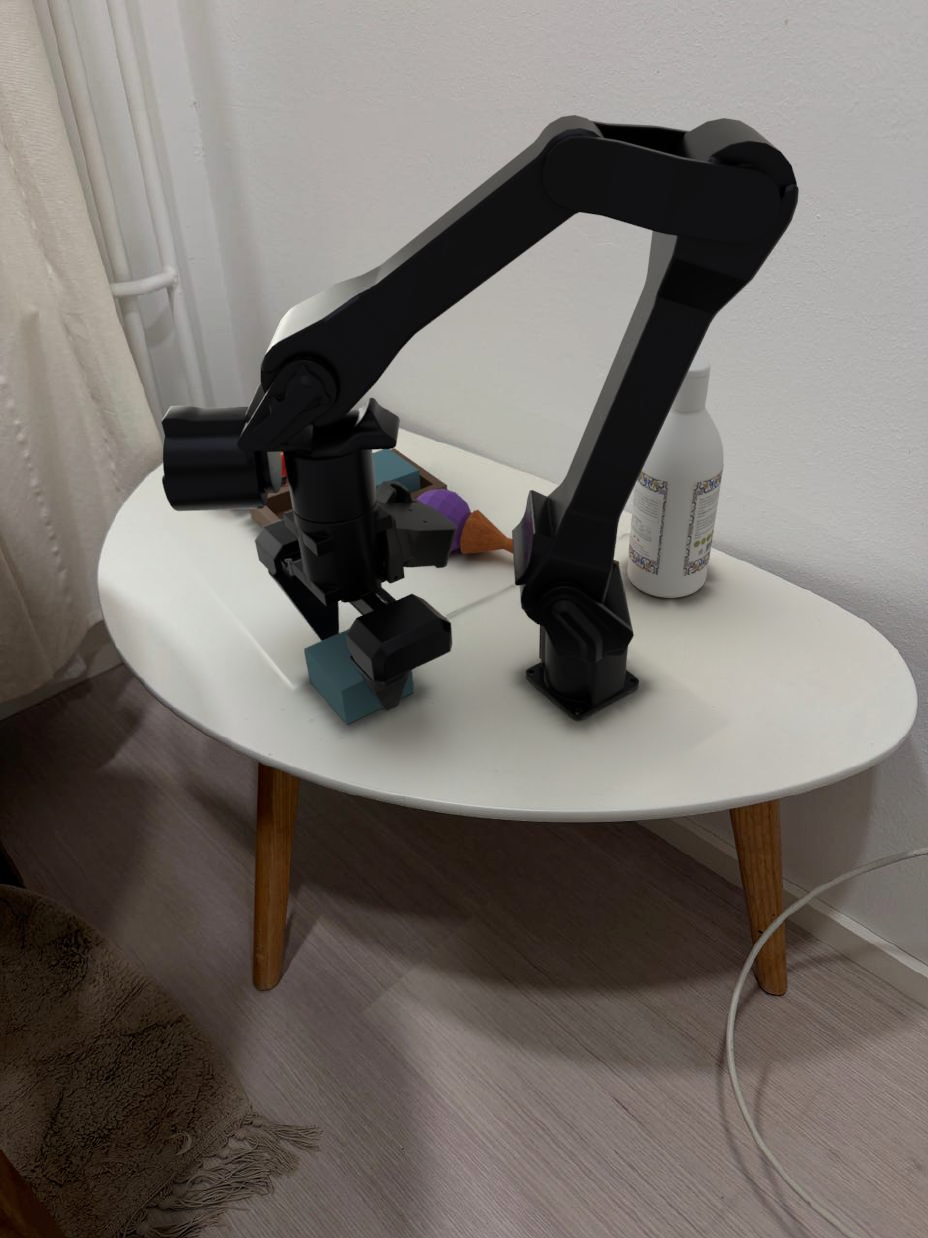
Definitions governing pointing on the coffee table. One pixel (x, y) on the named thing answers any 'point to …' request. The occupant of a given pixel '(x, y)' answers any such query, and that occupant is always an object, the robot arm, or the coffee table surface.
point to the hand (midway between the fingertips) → (360, 674)
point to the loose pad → (342, 679)
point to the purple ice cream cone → (467, 523)
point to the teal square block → (395, 470)
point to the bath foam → (678, 496)
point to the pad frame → (282, 502)
